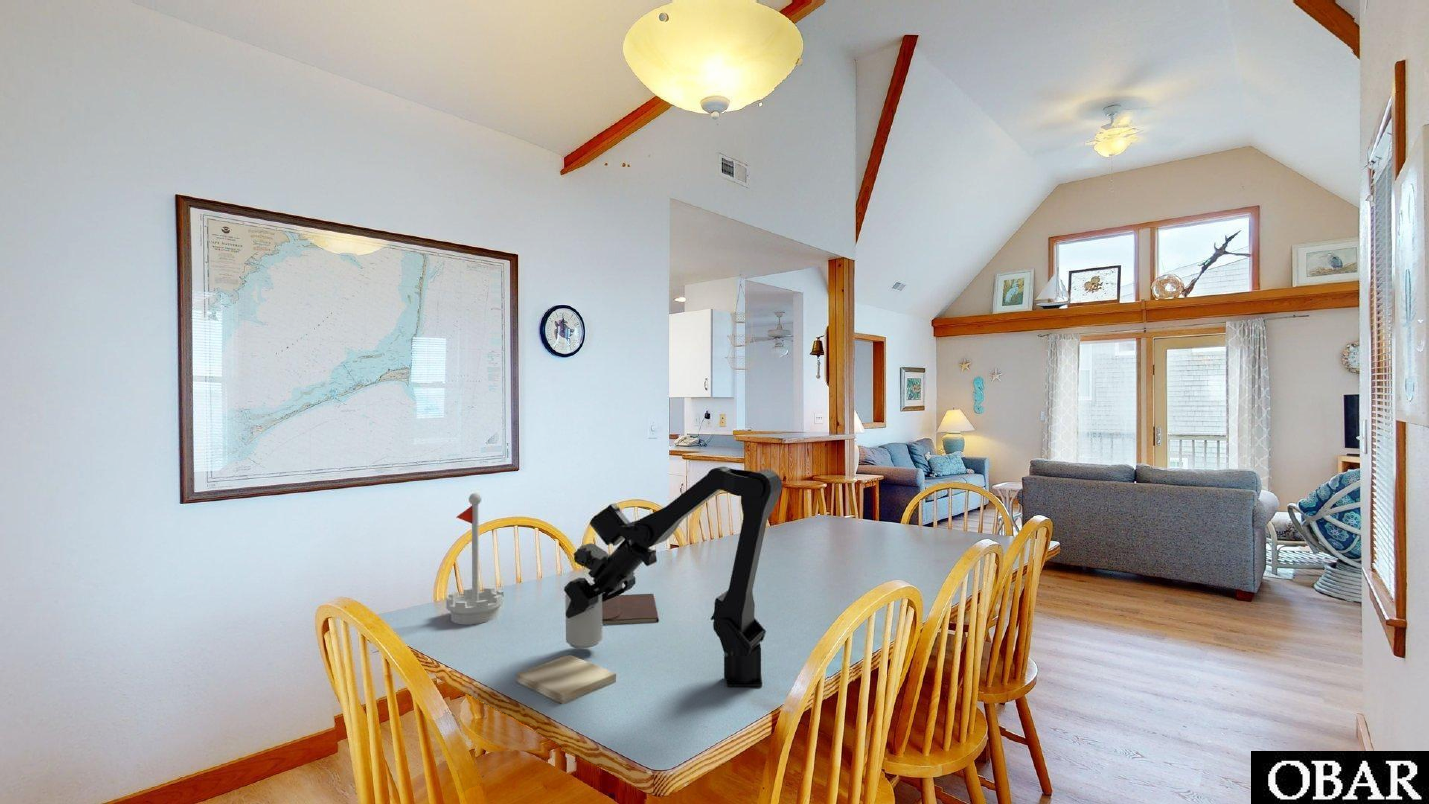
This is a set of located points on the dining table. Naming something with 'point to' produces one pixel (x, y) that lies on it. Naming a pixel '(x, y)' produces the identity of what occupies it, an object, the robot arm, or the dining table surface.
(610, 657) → the dining table surface
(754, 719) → the dining table surface
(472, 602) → the flag stand
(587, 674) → the board
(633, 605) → the notebook
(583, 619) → the can
